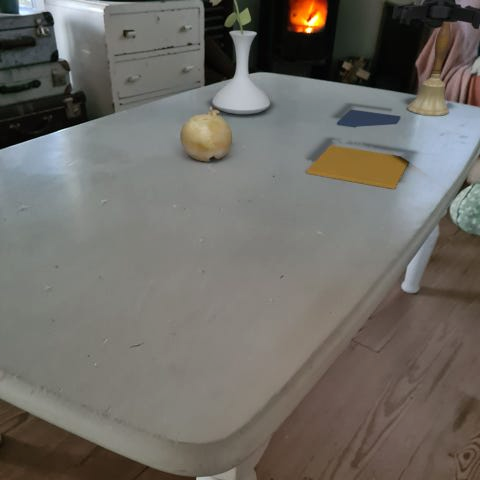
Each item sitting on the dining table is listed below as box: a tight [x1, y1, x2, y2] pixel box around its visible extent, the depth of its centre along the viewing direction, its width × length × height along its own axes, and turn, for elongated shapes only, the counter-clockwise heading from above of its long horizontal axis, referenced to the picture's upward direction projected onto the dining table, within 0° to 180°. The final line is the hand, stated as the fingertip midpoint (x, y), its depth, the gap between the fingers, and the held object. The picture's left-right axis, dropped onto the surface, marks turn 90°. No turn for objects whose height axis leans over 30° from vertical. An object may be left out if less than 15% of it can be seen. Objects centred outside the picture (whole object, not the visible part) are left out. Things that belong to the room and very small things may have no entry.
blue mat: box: [336, 108, 401, 128], centre depth 99 cm, size 10×10×1 cm
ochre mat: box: [306, 144, 410, 190], centre depth 79 cm, size 13×13×1 cm
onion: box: [179, 105, 233, 163], centre depth 79 cm, size 8×8×7 cm
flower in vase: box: [209, 0, 271, 115], centre depth 95 cm, size 13×11×25 cm
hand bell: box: [406, 22, 452, 117], centre depth 102 cm, size 8×8×16 cm
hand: (443, 19), depth 105 cm, fingers open, 13 cm apart
